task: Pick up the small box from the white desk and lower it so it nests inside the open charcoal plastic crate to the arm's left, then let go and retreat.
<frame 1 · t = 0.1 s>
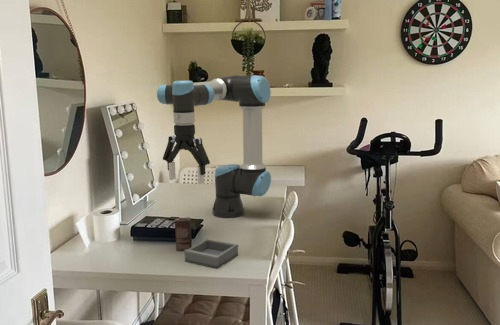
hand: (186, 181, 184), 28 cm above the table, fingers open, 13 cm apart
box: (184, 249, 193), on the table
crate: (212, 258, 183), on the table
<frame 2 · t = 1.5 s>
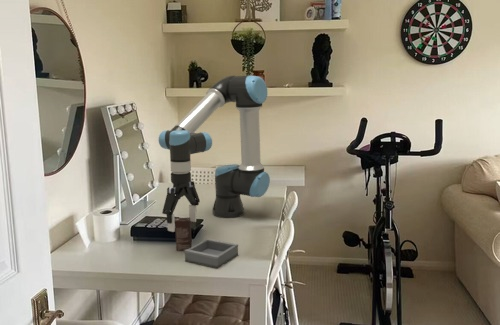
hand: (182, 226, 191), 9 cm above the table, fingers open, 13 cm apart
nothing on the table moved.
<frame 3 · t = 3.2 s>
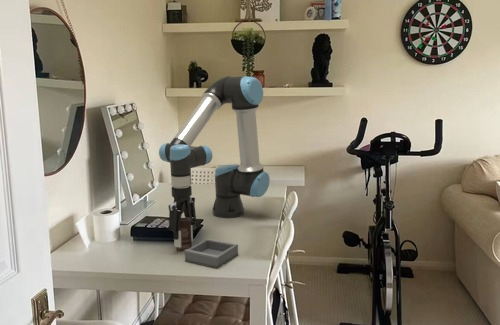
hand: (183, 243, 193), 2 cm above the table, fingers closed on box, 7 cm apart
box: (184, 249, 193), on the table, touching gripper
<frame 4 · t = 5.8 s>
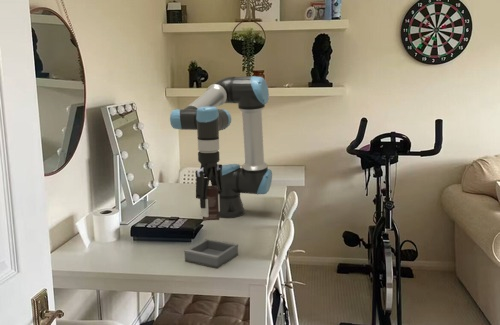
hand: (210, 213, 180), 17 cm above the table, fingers closed on box, 7 cm apart
box: (210, 219, 180), point 15 cm above the table, touching gripper
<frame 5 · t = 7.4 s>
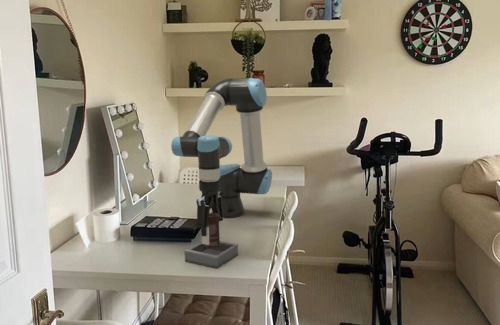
hand: (211, 240, 182), 7 cm above the table, fingers closed on box, 7 cm apart
box: (211, 246, 182), point 5 cm above the table, touching gripper
when the fingers open (5 cm above the table, at t = 8.6 s): box drops 2 cm, resting on crate.
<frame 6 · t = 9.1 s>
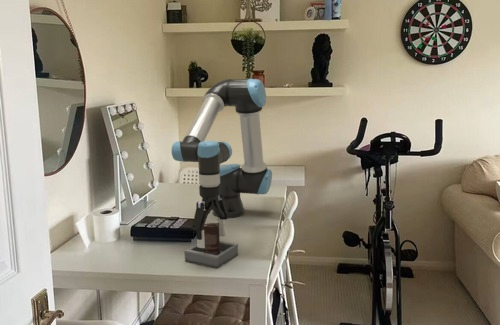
hand: (211, 241, 182), 6 cm above the table, fingers open, 13 cm apart
box: (212, 256, 183), point 1 cm above the table, touching crate
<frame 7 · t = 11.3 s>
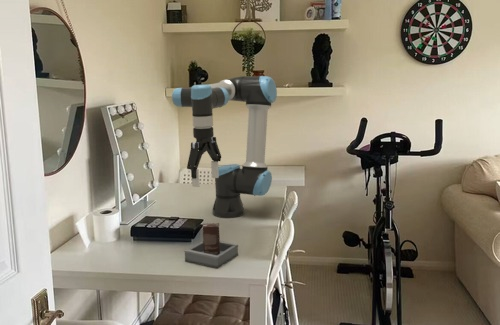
hand: (205, 182, 190), 26 cm above the table, fingers open, 13 cm apart
nothing on the table moved.
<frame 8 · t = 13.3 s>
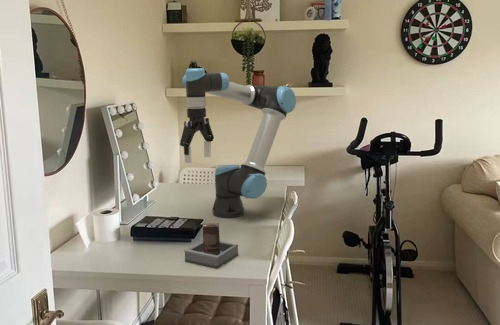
hand: (198, 159, 203), 32 cm above the table, fingers open, 13 cm apart
nothing on the table moved.
at the end: box inside the target area on the crate (0.2 cm from its centre), point 0.6 cm above the crate's base; box tilted 0°; the gripper is holding nothing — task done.
